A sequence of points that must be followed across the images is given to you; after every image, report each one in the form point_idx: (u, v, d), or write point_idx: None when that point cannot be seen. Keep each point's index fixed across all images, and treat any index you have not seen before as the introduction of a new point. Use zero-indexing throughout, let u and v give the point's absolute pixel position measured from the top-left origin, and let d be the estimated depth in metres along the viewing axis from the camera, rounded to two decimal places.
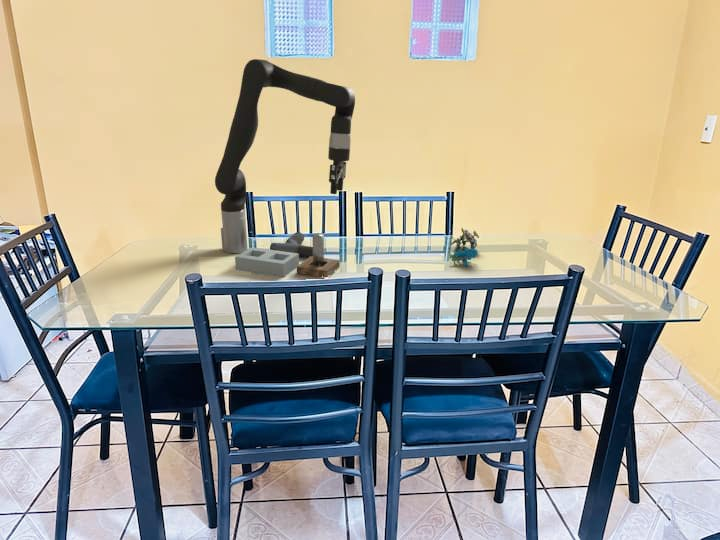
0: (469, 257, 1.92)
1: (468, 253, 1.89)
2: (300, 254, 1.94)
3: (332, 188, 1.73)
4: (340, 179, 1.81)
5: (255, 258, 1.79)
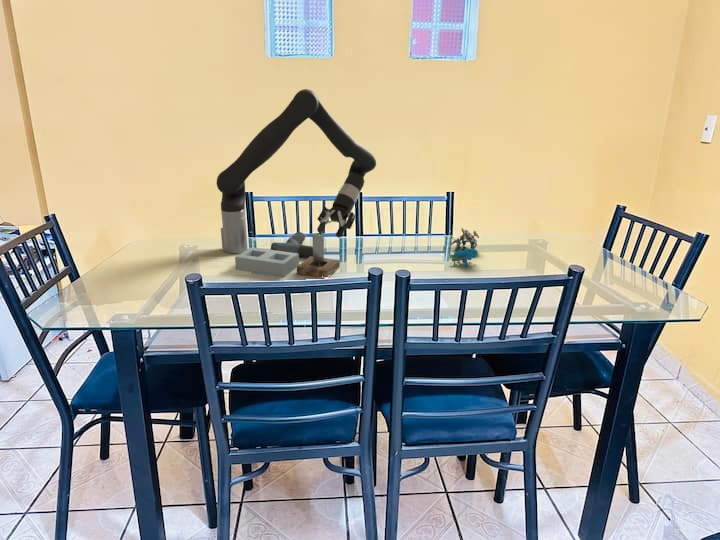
0: (469, 257, 1.92)
1: (468, 253, 1.88)
2: (301, 254, 1.95)
3: (341, 232, 1.80)
4: (324, 223, 1.85)
5: (255, 258, 1.79)
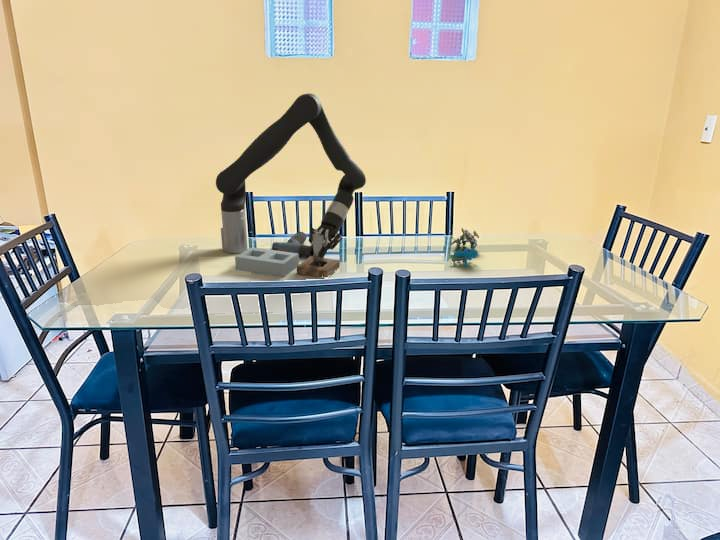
0: (469, 257, 1.92)
1: (468, 253, 1.88)
2: (302, 254, 1.95)
3: (324, 252, 1.77)
4: None
5: (255, 258, 1.79)
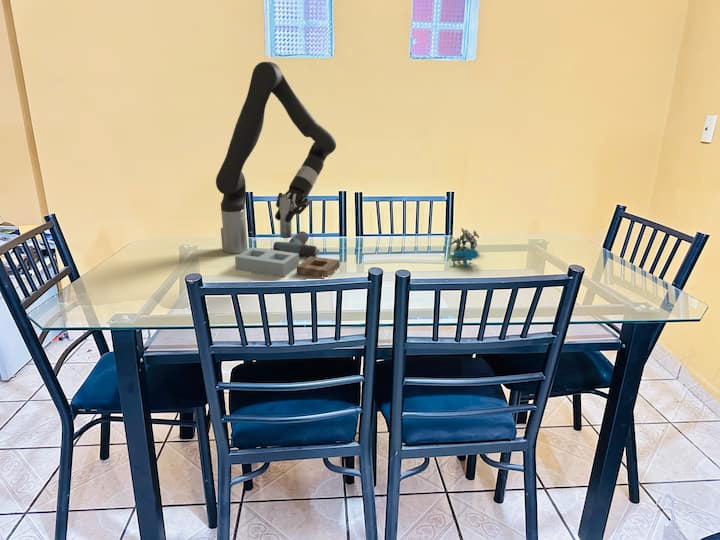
0: (469, 258, 1.91)
1: (468, 254, 1.88)
2: (303, 253, 1.95)
3: (291, 216, 1.73)
4: None
5: (255, 258, 1.79)
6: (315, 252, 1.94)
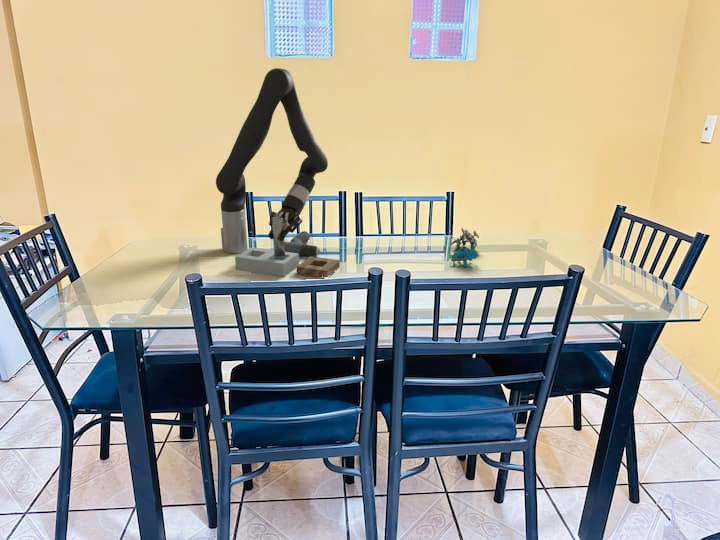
0: (470, 258, 1.91)
1: (468, 254, 1.88)
2: (304, 253, 1.95)
3: (284, 235, 1.75)
4: None
5: (255, 258, 1.79)
6: (316, 252, 1.95)
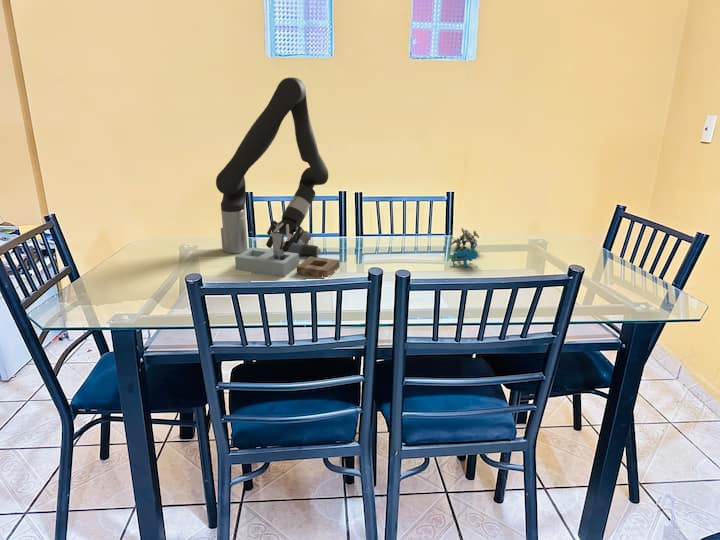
0: (470, 258, 1.91)
1: (468, 254, 1.88)
2: (304, 253, 1.96)
3: (288, 246, 1.76)
4: None
5: (255, 258, 1.79)
6: (316, 252, 1.95)
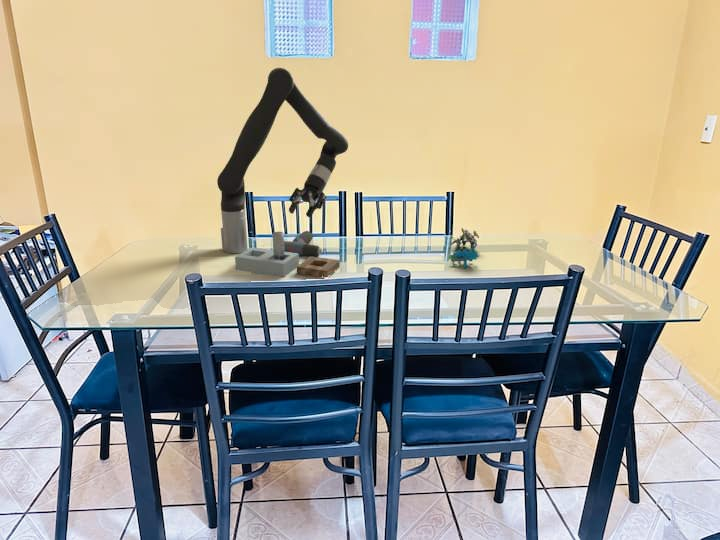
0: (470, 258, 1.91)
1: (467, 254, 1.87)
2: (305, 253, 1.96)
3: (312, 211, 1.83)
4: (295, 203, 1.88)
5: (255, 258, 1.79)
6: (317, 252, 1.95)
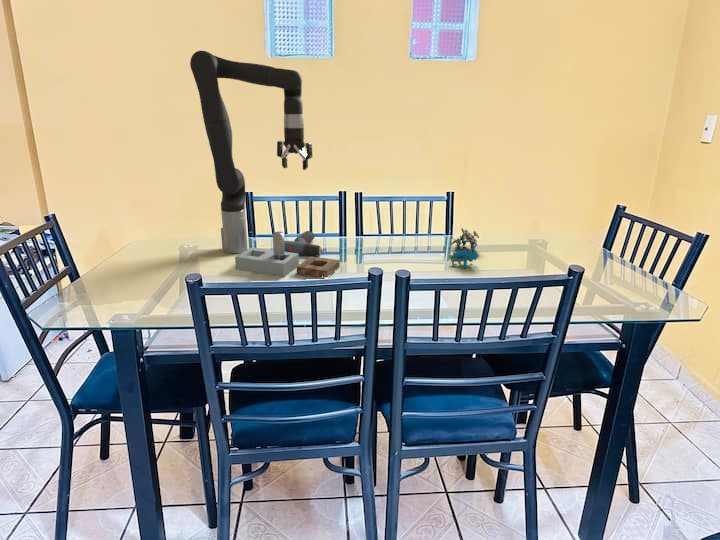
0: (470, 259, 1.90)
1: (467, 254, 1.87)
2: (306, 252, 1.96)
3: (306, 164, 1.92)
4: (285, 157, 1.94)
5: (255, 258, 1.79)
6: (318, 251, 1.95)
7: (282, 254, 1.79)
